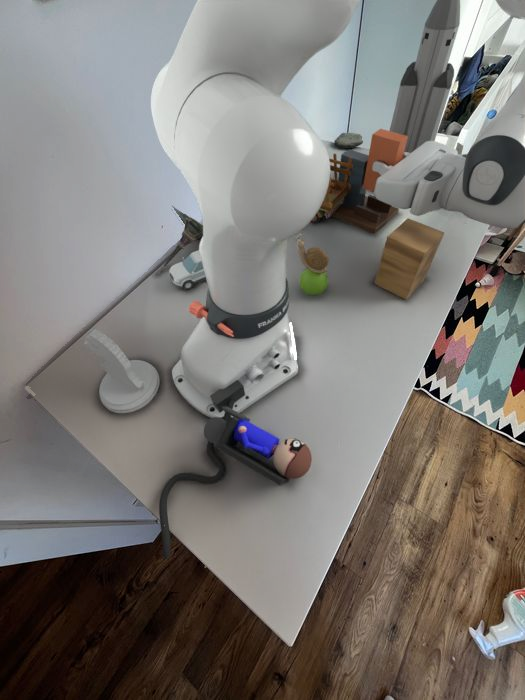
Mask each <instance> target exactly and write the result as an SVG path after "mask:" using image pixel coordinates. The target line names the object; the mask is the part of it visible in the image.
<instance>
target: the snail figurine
mask: <svg viewBox="0 0 525 700" xmlns="http://www.w3.org/2000/svg"><path fill="white" fill-rule="evenodd" d="M301 237H302V233H298V235H297V236H296V240H297V242H296V246H297V249H298V255H299V256H298V257H299V259H300V262H301V264H302V265H303V266H304V267H305V268H306V269H304V270H303V271H302V273H301V275H300V276H299V287H300V289H301V290H302V292H304V294H306V295H309V296H318V295H320V294H322V293H324V291H325V290H326V289H327V287H328V284H329V277H328V274H327V272H328V268H327V267H328V265H329V260H330V259H329V257H328V254H327V252H325V251H324V250H323V249H322V248H319V247H315V246H314V247H310V248H308V249H307V251H306V249H305V246H306V243H305V241H303V240H302V239H301Z"/></svg>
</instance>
